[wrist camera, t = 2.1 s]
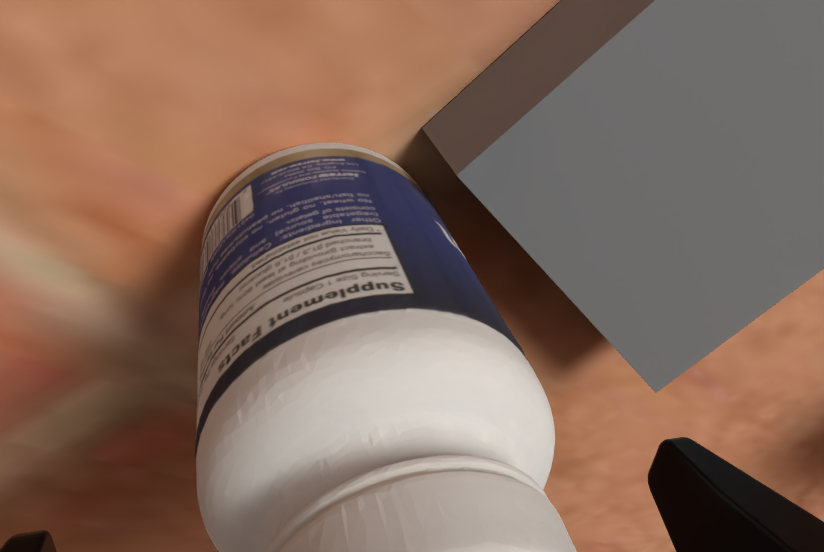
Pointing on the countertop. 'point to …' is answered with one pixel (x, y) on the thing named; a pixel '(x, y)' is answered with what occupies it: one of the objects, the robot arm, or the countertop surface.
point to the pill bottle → (359, 373)
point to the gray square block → (655, 163)
